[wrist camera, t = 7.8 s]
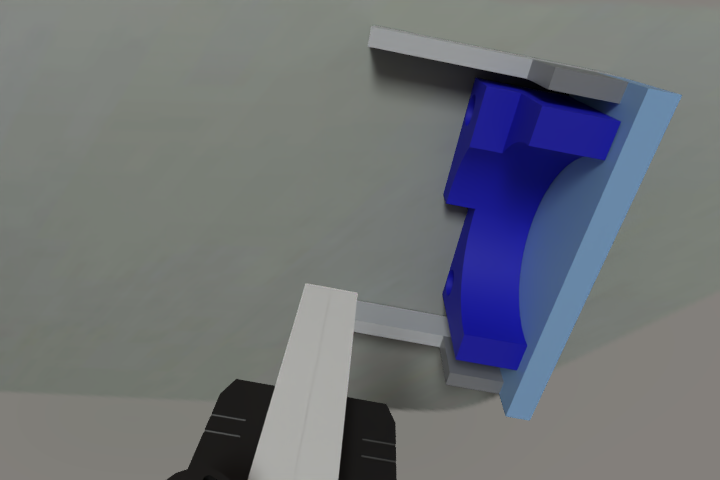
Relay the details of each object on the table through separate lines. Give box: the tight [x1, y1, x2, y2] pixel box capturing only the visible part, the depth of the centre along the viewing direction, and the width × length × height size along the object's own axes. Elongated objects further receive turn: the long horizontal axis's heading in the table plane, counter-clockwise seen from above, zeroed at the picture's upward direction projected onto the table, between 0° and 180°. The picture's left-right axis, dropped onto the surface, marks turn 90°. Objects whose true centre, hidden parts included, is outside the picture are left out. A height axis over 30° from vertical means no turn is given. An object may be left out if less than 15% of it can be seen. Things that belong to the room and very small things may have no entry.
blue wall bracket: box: [354, 25, 682, 420], centre depth 23 cm, size 11×16×6 cm
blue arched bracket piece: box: [443, 78, 621, 370], centre depth 23 cm, size 12×4×6 cm, turn 170°
